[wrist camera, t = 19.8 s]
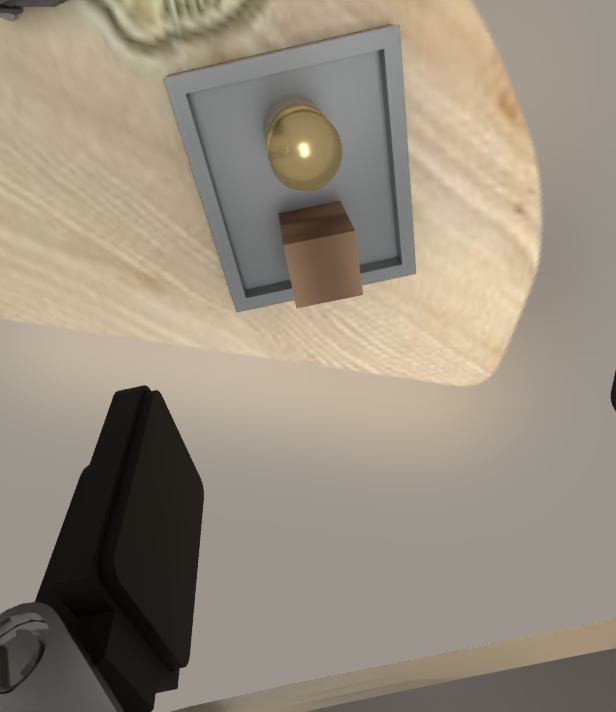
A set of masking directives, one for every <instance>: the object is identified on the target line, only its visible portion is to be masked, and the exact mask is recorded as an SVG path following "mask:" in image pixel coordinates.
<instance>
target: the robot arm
mask: <svg viewBox="0 0 616 712" xmlns="http://www.w3.org/2000/svg"><path fill="white" fill-rule="evenodd" d="M611 402H612V405H613V407H614V409H615V411H616V372H615V376H614V381H613V386H612V390H611ZM203 501H204V490H203V484H202V481H201V478H200V476H199V474H198V472H197V470H196V468H195V466H194V463H193V461H192V459H191V457H190V455H189V453H188V451H187V448H186V446H185V444H184V442H183V440H182V438H181V435H180V433H179V431H178V429H177V427H176V425H175V423H174V421H173V418H172V416H171V414H170V412H169V410H168V408H167V405H166V404H165V401H164V399H163V397H162V395H161V393H160V392H159V391H157V390H155V391H151V390H150V388H148V387H147V386H145V385H144V386H139V387H134V388H130V389H125V390H121V391H117V392H115V394H114V396H113V399H112V402H111V405H110V408H109V410H108V413H107V416H106V419H105V422H104V425H103V428H102V430H101V433H100V436H99V439H98V442H97V445H96V448H95V451H94V453H93V456H92V459H91V462H90V465H88V466H87V467H86V468H85V469H84V470H83V472H82V474H81V476H80V478H79V481H78V484H77V486H76V489H75V492H74V495H73V498H72V500H71V503H70V506H69V509H68V511H67V514H66V517H65V520H64V523H63V525H62V528H61V531H60V534H59V536H58V539H57V542H56V545H55V548H54V550H53V553H52V556H51V559H50V561H49V564H48V567H47V570H46V572H45V575H44V578H43V581H42V584H41V586H40V589H39V592H38V595H37V597H36V600H35V602H32V603H23V604H20V605H18V606H15V607H13V608H10V609H8V610H6V611H4V612H3V613H1V614H0V712H151V711H152V710H153V708H154V701H155V694H156V693H159V692H164V691H169V690H174V689H177V688H178V679H179V669H180V668H183V667H186V666H187V664H188V661H189V656H190V647H191V635H192V625H193V613H194V602H195V591H196V580H197V569H198V557H199V546H200V535H201V524H202V513H203ZM172 712H616V619H613V620H608V621H603V622H598V623H593V624H588V625H583V626H578V627H573V628H568V629H563V630H557V631H552V632H547V633H542V634H537V635H533V636H527V637H522V638H517V639H513V640H507V641H502V642H497V643H492V644H487V645H482V646H477V647H472V648H467V649H462V650H457V651H452V652H447V653H442V654H437V655H432V656H428V657H422V658H417V659H412V660H407V661H402V662H397V663H393V664H388V665H383V666H378V667H373V668H368V669H363V670H358V671H353V672H348V673H343V674H339V675H334V676H328V677H324V678H319V679H314V680H309V681H304V682H299V683H294V684H290V685H285V686H280V687H276V688H271V689H267V690H263V691H258V692H253V693H249V694H245V695H240V696H235V697H231V698H227V699H222V700H217V701H213V702H208V703H204V704H199V705H195V706H191V707H187V708H183V709H179V710H176V711H172Z"/></svg>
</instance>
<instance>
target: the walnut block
mask: <svg viewBox="0 0 616 712" xmlns="http://www.w3.org/2000/svg"><path fill="white" fill-rule="evenodd" d="M278 214H279V221H280V227H281V234H282V240H283V246H284V251H285V256H286V260H287V265H288V270H289V275H290V279H291V284H292V289H293V294H294V298H295V303H296V308H300V307H305V306H310V305H315V304H320V303H325V302H330V301H335V300H340V299H345V298H350V297H355V296H360V295H363V292H362V283H361V275H360V267H359V258H358V250H357V242H356V233H355V229H354V227H353V225H352V223H351V221H350V219H349V217H348V215H347V213H346V211H345V209H344V207H343V205H342V203H341V201H336V202H331V203H326V204H322V205H317V206H312V207H307V208H302V209H297V210H292V211H287V212H282V213H278Z"/></svg>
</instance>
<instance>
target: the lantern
mask: <svg viewBox="0 0 616 712" xmlns="http://www.w3.org/2000/svg"><path fill="white" fill-rule="evenodd" d="M66 1H68V0H0V17H1V18H4V19H7V20H10V21H14V19H15V14H14V13H22V12H23V9H20V8H18V7H15V6H14V5H16V6H26V7H55V6H58V5H60V4H62V3H64V2H66Z"/></svg>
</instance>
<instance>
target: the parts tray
mask: <svg viewBox="0 0 616 712" xmlns="http://www.w3.org/2000/svg"><path fill="white" fill-rule="evenodd" d="M163 80H164V83H165V86H166V89H167V92H168V96H169V99H170V102H171V105H172V108H173V111H174V115H175V118H176V121H177V124H178V127H179V131H180V134H181V137H182V140H183V143H184V147H185V150H186V153H187V156H188V159H189V163H190V166H191V169H192V172H193V175H194V178H195V182H196V185H197V188H198V191H199V194H200V198H201V201H202V204H203V207H204V210H205V214H206V217H207V220H208V223H209V226H210V230H211V233H212V236H213V239H214V242H215V245H216V249H217V252H218V255H219V258H220V261H221V265H222V268H223V271H224V274H225V277H226V281H227V284H228V287H229V290H230V293H231V297H232V300H233V303H234V306H235V309H236V312H241V311H245V310H250V309H255V308H259V307H264V306H269V305H273V304H278V303H282V302H287V301H292V300H295V298H294V294H293V289H292V284H291V279H290V275H289V270H288V265H287V260H286V256H285V251H284V246H283V240H282V234H281V227H280V221H279V214H278V213H282V212H287V211H292V210H297V209H302V208H307V207H312V206H317V205H322V204H326V203H331V202H336V201H341V203H342V205H343V207H344V209H345V211H346V213H347V215H348V217H349V219H350V221H351V223H352V225H353V227H354V229H355V233H356V242H357V250H358V258H359V267H360V275H361V283H362V285H366V284H371V283H375V282H380V281H385V280H389V279H394V278H399V277H403V276H408V275H413V274H416V263H415V248H414V233H413V218H412V203H411V188H410V173H409V158H408V143H407V128H406V113H405V98H404V83H403V68H402V53H401V38H400V25H393V24H390V25H385V26H381V27H377V28H372V29H368V30H364V31H359V32H355V33H350V34H346V35H342V36H337V37H333V38H328V39H324V40H320V41H315V42H311V43H307V44H302V45H298V46H293V47H289V48H285V49H280V50H276V51H271V52H267V53H263V54H258V55H254V56H249V57H245V58H241V59H236V60H232V61H228V62H223V63H219V64H214V65H210V66H206V67H201V68H197V69H192V70H188V71H184V72H179V73H175V74H171V75H168V76H166V77H165V78H164V79H163ZM294 95H296V96H302V97H305V98H307V99H309V100H311V101H312V102H313V103H314V104H315V105H316V106H317V107H318V108H319V109H320V110H321V112H322V113H323V114H324V115H325V117H326V118H327V119H328V120H329V121H330V123H331V124H332V125H333V126H334V127H335V129H336V130H337V132H338V134H339V136H340V139H341V143H342V150H343V152H342V161H341V164H340V167H339V170H338V171H337V173H336V175H335V176H334V178H333V179H332V180H331V181H330V182H329V183H328V184H326V185H325V186H323V187H322V188H319V189H317V190H314V191H309V192H301V191H296V190H292V189H290V188H288V187H286V186H285V185H284V184H282V183H281V182H280V181H279V180H278V179H277V177H276V176H275V175H274V173H273V171H272V169H271V166H270V163H269V157H268V152H267V146H266V141H265V135H264V122H265V118H266V115H267V113H268V111H269V110H270V108H271V107H272V106H273V104H275V103H276V102H277V101H278V100H280V99H282V98H284V97H287V96H294Z"/></svg>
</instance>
